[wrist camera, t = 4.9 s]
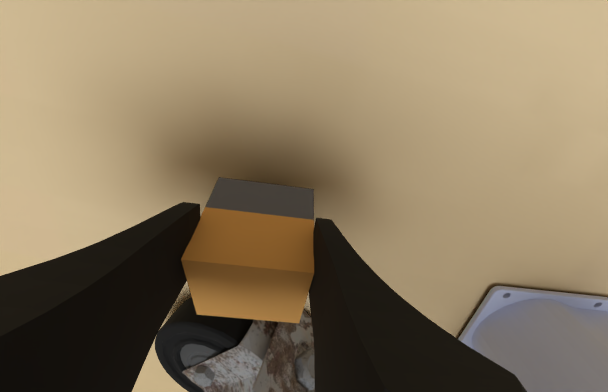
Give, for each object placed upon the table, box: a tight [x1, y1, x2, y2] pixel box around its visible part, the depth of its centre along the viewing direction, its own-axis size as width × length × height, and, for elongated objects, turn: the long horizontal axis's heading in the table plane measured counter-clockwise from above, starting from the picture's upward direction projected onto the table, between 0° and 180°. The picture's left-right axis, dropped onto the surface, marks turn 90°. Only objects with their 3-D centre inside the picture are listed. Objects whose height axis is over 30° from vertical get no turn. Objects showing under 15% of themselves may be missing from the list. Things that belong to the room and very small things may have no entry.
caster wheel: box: [155, 297, 315, 392], centre depth 18 cm, size 7×11×10 cm
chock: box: [181, 177, 314, 323], centre depth 12 cm, size 4×7×4 cm, turn 172°
